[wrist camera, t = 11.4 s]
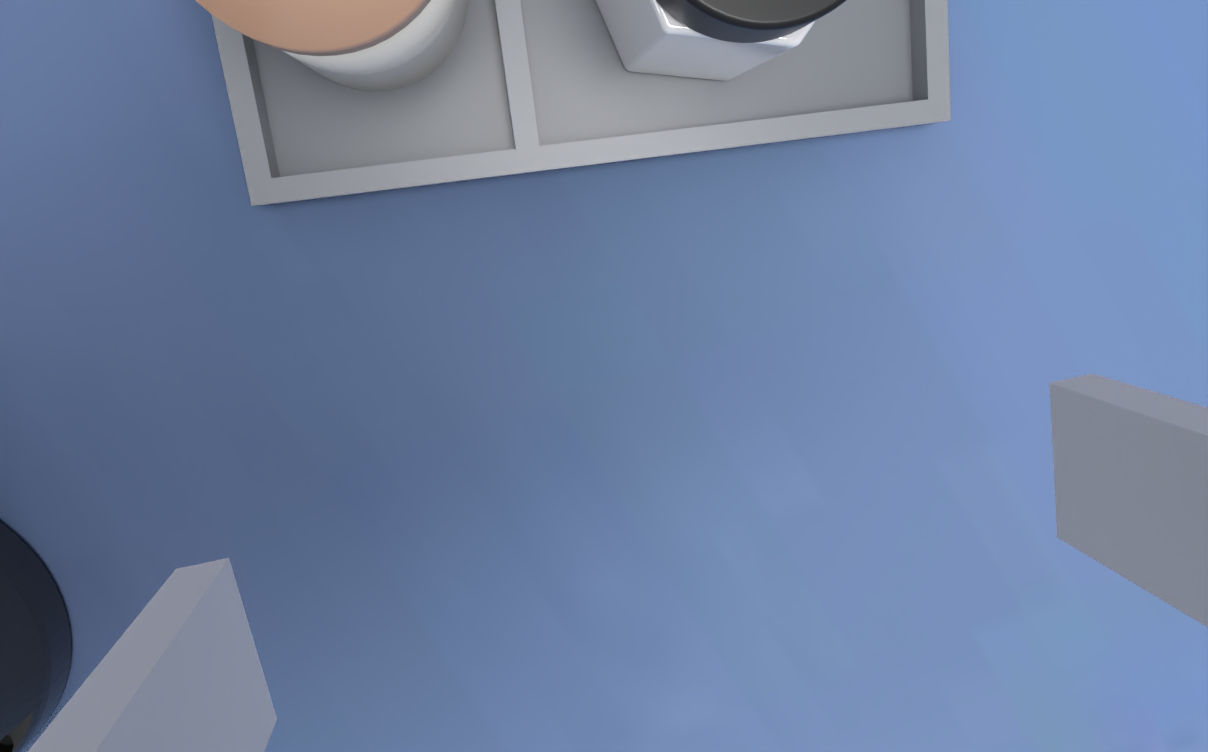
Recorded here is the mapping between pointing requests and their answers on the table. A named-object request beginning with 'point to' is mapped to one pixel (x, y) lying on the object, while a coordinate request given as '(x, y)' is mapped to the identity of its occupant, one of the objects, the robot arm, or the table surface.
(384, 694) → the table surface
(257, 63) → the divided grey tray
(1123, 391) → the robot arm
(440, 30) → the white jar with lid
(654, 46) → the jar
